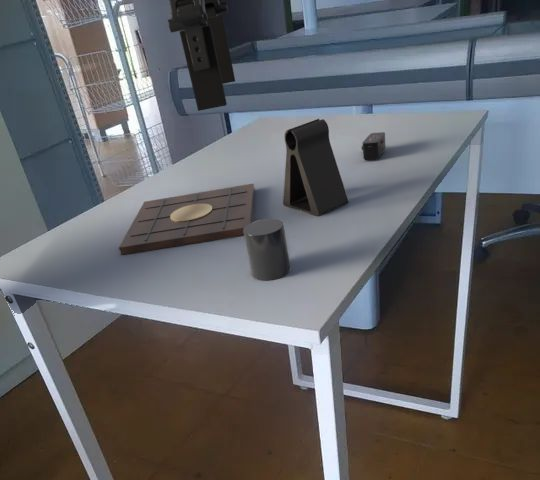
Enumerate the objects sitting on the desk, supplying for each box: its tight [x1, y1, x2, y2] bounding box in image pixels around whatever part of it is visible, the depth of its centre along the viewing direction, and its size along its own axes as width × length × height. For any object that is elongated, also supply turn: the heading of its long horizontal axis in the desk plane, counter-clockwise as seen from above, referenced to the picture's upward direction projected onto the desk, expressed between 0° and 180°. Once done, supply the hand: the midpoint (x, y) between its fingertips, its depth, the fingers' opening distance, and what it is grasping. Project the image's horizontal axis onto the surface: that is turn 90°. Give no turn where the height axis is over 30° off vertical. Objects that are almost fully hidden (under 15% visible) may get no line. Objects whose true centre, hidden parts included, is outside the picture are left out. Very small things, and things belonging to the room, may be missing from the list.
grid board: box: [118, 183, 256, 255], centre depth 89 cm, size 20×20×1 cm
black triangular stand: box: [282, 118, 349, 217], centre depth 82 cm, size 9×6×12 cm, turn 36°
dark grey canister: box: [243, 218, 291, 281], centre depth 68 cm, size 5×5×6 cm
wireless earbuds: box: [360, 131, 386, 162], centre depth 101 cm, size 5×7×3 cm, turn 156°
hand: (218, 94), depth 57 cm, fingers open, 13 cm apart
